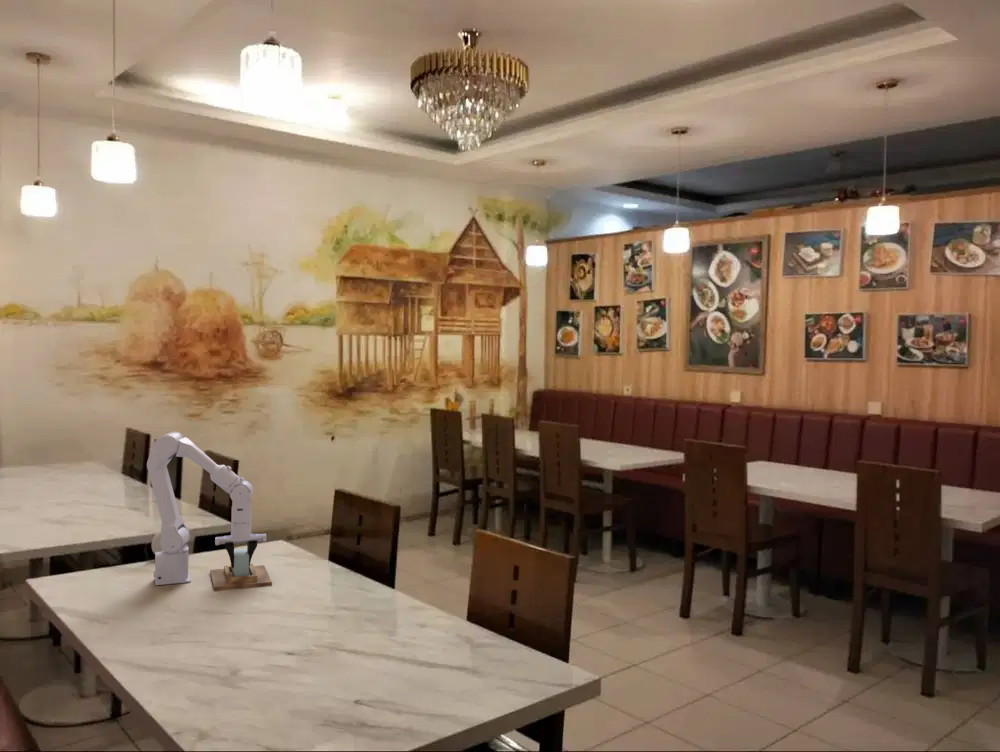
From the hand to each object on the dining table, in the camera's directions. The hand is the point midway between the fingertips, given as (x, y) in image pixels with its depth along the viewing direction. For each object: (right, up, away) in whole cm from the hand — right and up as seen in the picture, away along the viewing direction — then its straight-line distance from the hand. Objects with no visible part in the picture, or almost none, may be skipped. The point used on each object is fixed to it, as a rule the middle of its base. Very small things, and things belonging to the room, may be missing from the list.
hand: (240, 566), depth 226 cm
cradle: (0, -4, 0) cm, 4 cm away
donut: (-31, -3, +20) cm, 37 cm away
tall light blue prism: (0, -2, 0) cm, 2 cm away
